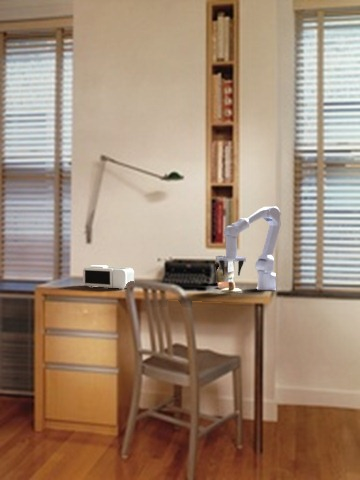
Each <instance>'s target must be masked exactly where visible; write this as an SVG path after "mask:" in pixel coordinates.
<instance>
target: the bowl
mask: <svg viewBox="0 0 360 480" xmlns="http://www.w3.org/2000/svg"><path fill="white" fill-rule="evenodd" d="M225 288H229V282H219V283H218V284H217V289H220V290H222V289H225ZM234 288H236V283H235V282H234Z"/></svg>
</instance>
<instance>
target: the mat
mask: <svg viewBox="0 0 360 480" xmlns="http://www.w3.org/2000/svg"><path fill="white" fill-rule="evenodd" d="M220 293H222V294H229V293H228V292H222V289H220ZM243 293H244V292H243V290H242V289H241V292H236V293H235V294H243Z"/></svg>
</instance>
